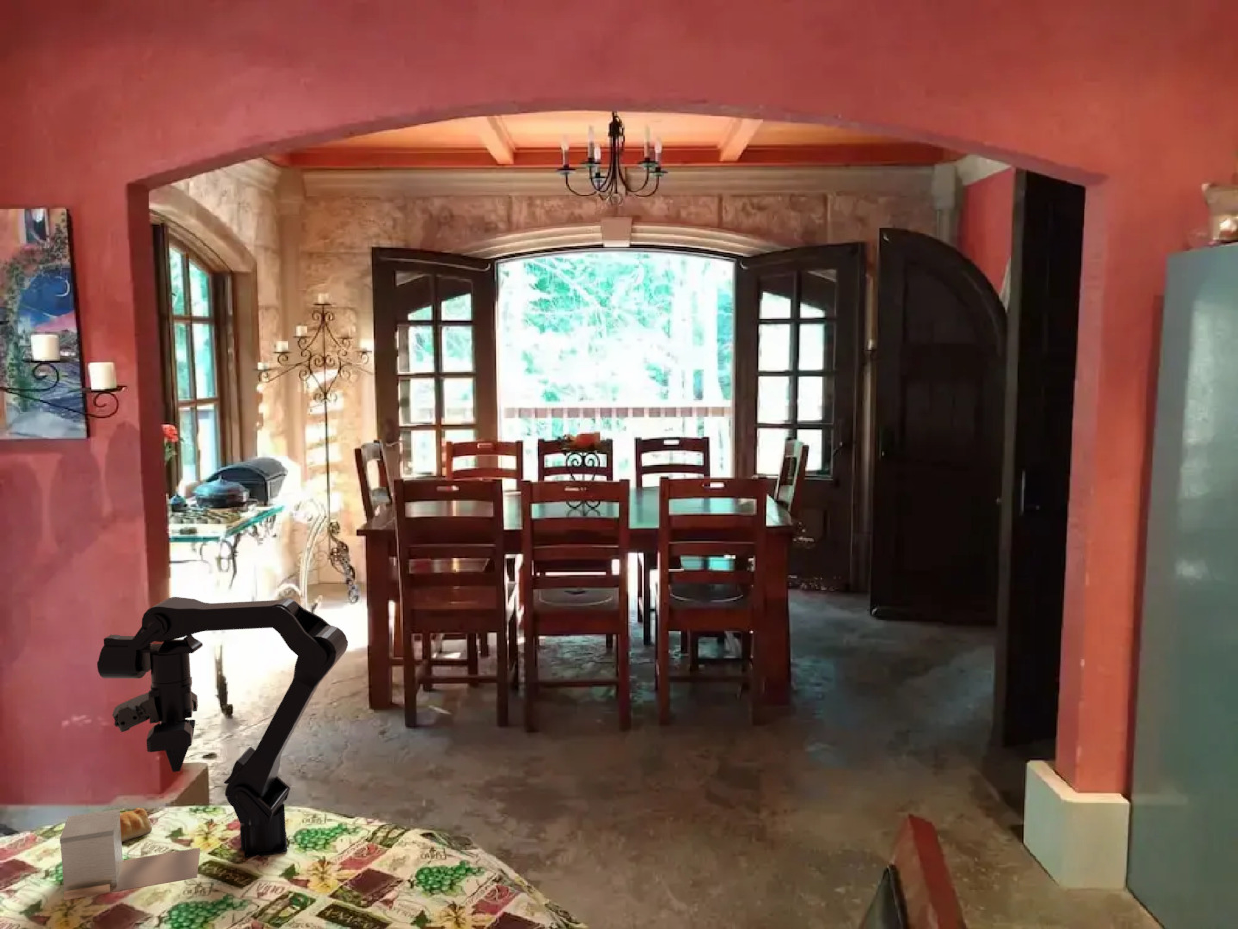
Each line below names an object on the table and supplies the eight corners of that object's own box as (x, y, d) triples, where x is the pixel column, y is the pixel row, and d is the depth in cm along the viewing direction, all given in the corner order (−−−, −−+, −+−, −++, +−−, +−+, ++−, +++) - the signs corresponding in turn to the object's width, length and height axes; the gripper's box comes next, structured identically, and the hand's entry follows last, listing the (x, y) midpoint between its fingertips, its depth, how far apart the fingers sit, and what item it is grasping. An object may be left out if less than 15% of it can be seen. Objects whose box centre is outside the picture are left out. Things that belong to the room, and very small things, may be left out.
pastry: (96, 856, 158) (94, 833, 158) (81, 841, 163) (79, 820, 162) (155, 834, 165) (154, 813, 164) (139, 821, 169) (138, 800, 169)
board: (200, 850, 159) (199, 841, 159) (197, 879, 151) (196, 871, 150) (75, 870, 153) (74, 862, 153) (64, 902, 144) (63, 894, 144)
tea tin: (123, 863, 155) (119, 809, 153) (117, 886, 148) (113, 830, 147) (72, 871, 152) (68, 816, 151) (64, 895, 146) (59, 838, 144)
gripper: (122, 665, 163) (128, 755, 165) (106, 704, 145) (113, 804, 147) (195, 658, 167) (200, 746, 169) (188, 695, 149) (193, 792, 151)
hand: (176, 770), depth 159 cm, fingers closed
